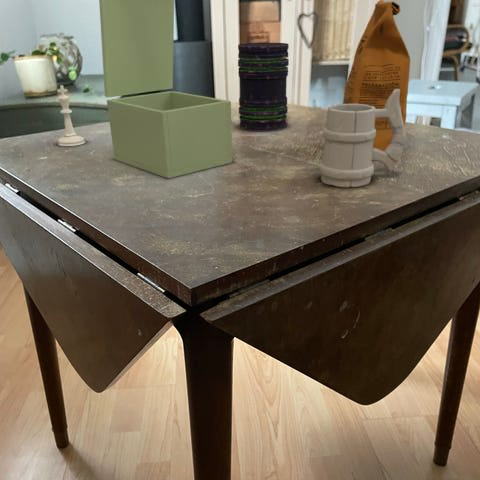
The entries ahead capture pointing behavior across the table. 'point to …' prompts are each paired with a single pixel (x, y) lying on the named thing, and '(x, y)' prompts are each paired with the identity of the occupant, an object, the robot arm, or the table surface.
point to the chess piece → (68, 122)
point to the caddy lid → (137, 45)
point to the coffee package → (380, 69)
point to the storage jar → (263, 86)
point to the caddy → (171, 132)
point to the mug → (359, 142)
